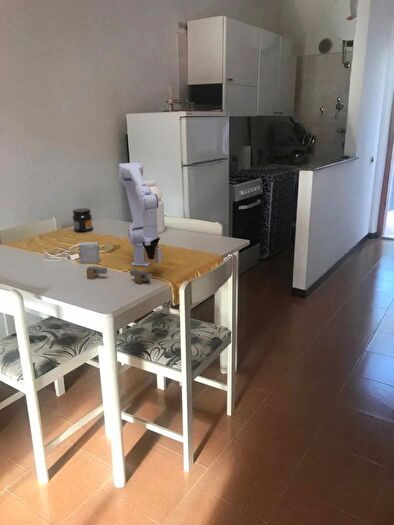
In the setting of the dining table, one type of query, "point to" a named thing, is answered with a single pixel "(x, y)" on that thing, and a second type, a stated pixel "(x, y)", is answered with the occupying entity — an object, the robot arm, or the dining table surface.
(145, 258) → the block
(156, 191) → the bottle
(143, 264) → the robot arm
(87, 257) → the medicine box
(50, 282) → the dining table surface
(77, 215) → the supplement container
